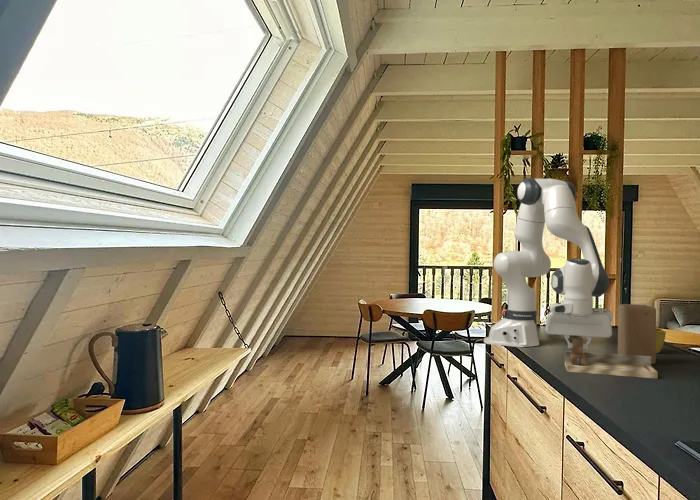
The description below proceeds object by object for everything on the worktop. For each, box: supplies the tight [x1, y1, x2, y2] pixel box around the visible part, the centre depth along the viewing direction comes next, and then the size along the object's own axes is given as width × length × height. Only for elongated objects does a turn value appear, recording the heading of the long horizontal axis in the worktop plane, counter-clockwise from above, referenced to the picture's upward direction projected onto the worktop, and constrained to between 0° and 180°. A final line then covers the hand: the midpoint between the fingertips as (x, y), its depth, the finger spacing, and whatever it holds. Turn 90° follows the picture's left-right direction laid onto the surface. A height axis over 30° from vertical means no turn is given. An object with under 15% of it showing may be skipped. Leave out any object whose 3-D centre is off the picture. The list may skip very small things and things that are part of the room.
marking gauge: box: [570, 337, 585, 365], centre depth 172 cm, size 4×7×8 cm, turn 162°
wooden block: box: [617, 303, 657, 365], centre depth 186 cm, size 10×10×20 cm
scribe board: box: [564, 350, 659, 380], centre depth 170 cm, size 26×10×5 cm, turn 72°
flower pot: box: [656, 327, 666, 354], centre depth 203 cm, size 9×9×9 cm
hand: (577, 349), depth 172 cm, fingers closed on marking gauge, 3 cm apart
